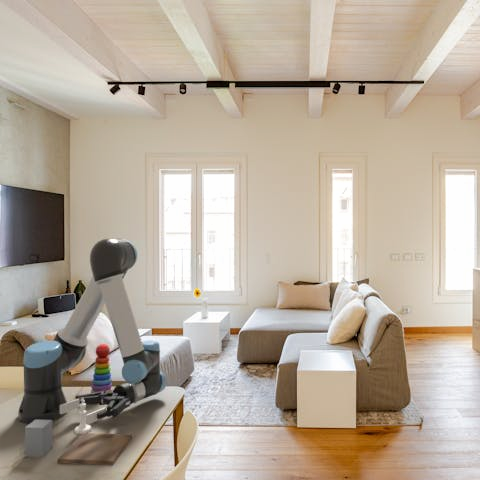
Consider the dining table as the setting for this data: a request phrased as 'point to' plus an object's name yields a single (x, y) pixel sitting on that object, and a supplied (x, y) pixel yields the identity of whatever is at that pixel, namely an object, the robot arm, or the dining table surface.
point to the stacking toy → (102, 371)
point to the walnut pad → (96, 449)
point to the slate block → (38, 438)
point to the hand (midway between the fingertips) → (72, 414)
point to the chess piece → (82, 420)
